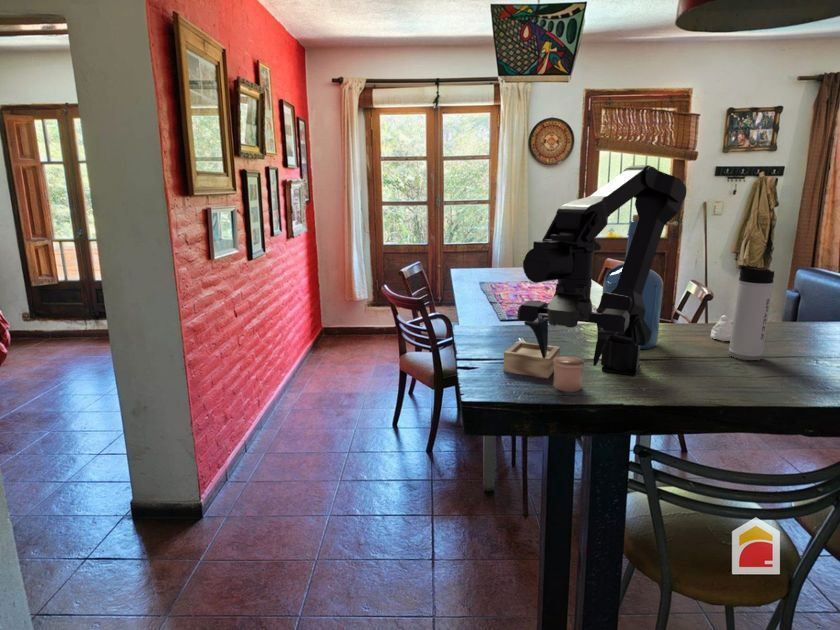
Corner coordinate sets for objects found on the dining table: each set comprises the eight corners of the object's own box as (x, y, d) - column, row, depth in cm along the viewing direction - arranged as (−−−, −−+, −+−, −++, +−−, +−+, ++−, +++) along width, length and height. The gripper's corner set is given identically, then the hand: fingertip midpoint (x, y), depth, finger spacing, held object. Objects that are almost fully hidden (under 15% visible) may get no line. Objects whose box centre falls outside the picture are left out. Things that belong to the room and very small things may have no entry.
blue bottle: (630, 333, 135) (641, 213, 129) (670, 347, 123) (685, 215, 117) (585, 338, 131) (594, 214, 124) (623, 353, 119) (635, 216, 112)
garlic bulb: (710, 312, 132) (734, 313, 131) (707, 335, 134) (731, 337, 132) (717, 317, 127) (742, 318, 126) (714, 341, 128) (739, 343, 127)
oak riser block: (559, 366, 111) (560, 346, 110) (547, 380, 103) (549, 358, 102) (517, 360, 115) (517, 341, 114) (503, 372, 107) (504, 352, 106)
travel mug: (722, 351, 120) (734, 263, 116) (754, 353, 119) (768, 264, 114) (732, 360, 114) (745, 267, 110) (766, 362, 113) (781, 268, 108)
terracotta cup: (585, 384, 100) (587, 359, 99) (578, 394, 95) (580, 367, 94) (556, 379, 102) (558, 354, 101) (548, 388, 98) (550, 362, 97)
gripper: (508, 279, 92) (505, 365, 95) (622, 288, 83) (614, 383, 87) (528, 270, 101) (525, 349, 105) (633, 278, 92) (625, 364, 96)
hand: (569, 361), depth 98 cm, fingers open, 9 cm apart
